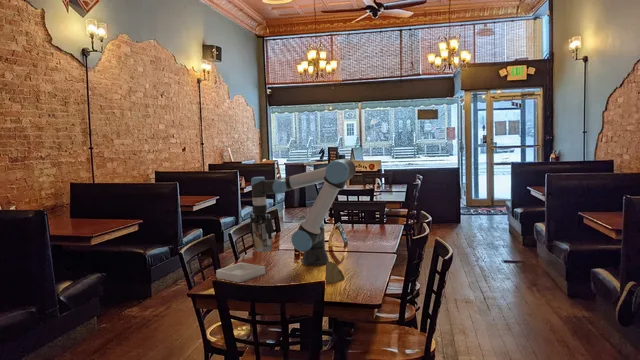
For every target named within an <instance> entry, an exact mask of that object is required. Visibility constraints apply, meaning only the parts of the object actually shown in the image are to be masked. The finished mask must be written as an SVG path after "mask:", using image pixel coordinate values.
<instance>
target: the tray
mask: <svg viewBox="0 0 640 360" xmlns="http://www.w3.org/2000/svg"><path fill="white" fill-rule="evenodd" d="M215 272H216V273H215V274H216V279H221V280H224V279H225V281H230V282H234V283H239V282H242V283H244V281H245V282H247V281H250V280H252V279H255V278H258V277H260V276H263V275H266V266H265V265H259V264H253V263H248V262H238V263H235V264H232V265H230V266H226V267H223V268H218V269H217V270H215Z"/></svg>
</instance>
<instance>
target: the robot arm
mask: <svg viewBox="0 0 640 360" xmlns="http://www.w3.org/2000/svg"><path fill="white" fill-rule="evenodd" d="M356 171H357V168H356V165H355V163H354V162H353V161H352V160H351V159H349V158H342V159H340V158H339V159H335V160H332V161H331V162H328V164H327V166H325V167H321V168H318V169H313V170H309V171H306V172H302V173H298V174H294V175H290V176H286V177H281V178H278V179H270V180H266V179H265V176H254V177H252V178H251V180H250V181H251V182H250V183H251V184H250V185H251V186H250V187H251V194H252V195H251V196H252V210H253V213H251V214H249V215H250V222H249V229H248V230H249V232H251V233H252V234H253V228H252V223H257V222H260V221H261V222H262V223H268V224H265V228H266V231H267V234H266V236H267V245H271V243H272V238H273V235H272V233H274V232H275V229H274V225H273V221H272V215H271V214H267V211H268V209H267V208H268V207H267V195H273V194H274V195H279V194H284V193H285V192H287V191H291V190H295V189H299V188H304V187H308V186H311V185H316V184H320V183H323V185H322V188H321V189H320V191H319V192H318V195H317V196H316V199H315V201H314V203H313V204H312V207H311V209H310V210H309V213H308V215H307V216H306V217H305V218H306V219H305V220H303V221H301V222H300V224H299V226H298V228H297V230H295V231H294V232H293V233H292V235H291V245H292V246H293V248H295V250H297V251H299V252H303V255H302V258H301V261H302V264H303V265H305V266H313V267H314V266H323V265H326V262H327V261H330V260H329V256H328V253H327V250H326V242H325V224H324V220H325V218H326V216H327V214H328V212H329V210H330V208H331V206H332V205H333V202H334V201H335V199H336V197H337V195H338V193H339V191H341V190H343V189H344V188H345V186H346V184H347V183H348V181H349V180H351V179H353V177H354V176H355V174H356Z"/></svg>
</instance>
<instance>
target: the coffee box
mask: <svg viewBox="0 0 640 360" xmlns="http://www.w3.org/2000/svg"><path fill="white" fill-rule="evenodd" d="M265 224H268V223H262V222H261V221H260V222H257V223H252V228H253V233H252V238H253V250H254V251H255V252H260V253H266V252H270V251H273V245H272V244H273V243H272V242H271V245H267V236H266V234H267V231H266V228H265Z"/></svg>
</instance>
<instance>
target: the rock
mask: <svg viewBox="0 0 640 360" xmlns="http://www.w3.org/2000/svg"><path fill="white" fill-rule="evenodd" d="M324 277H325V278H324V281H325V280H326V283H327V284H332V283H336V282H340V281H343V280H344V279H345V275H344V273H343V271H342V270H341V269H340V268H339V266H338V265H337V263H334V262H333V261H330V260H329V261H327V262H326V264H325V276H324ZM326 283H325V284H326ZM327 284H326V285H327Z"/></svg>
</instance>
